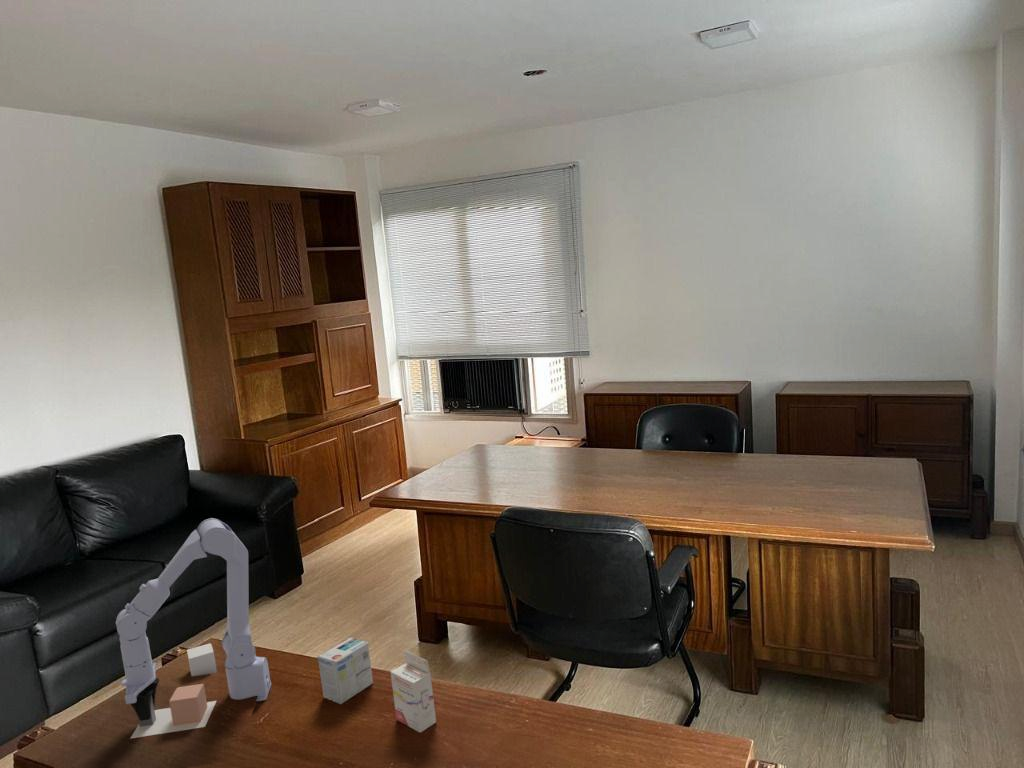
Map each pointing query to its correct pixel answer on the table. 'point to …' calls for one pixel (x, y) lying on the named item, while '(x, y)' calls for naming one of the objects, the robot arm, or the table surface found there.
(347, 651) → the light bulb box
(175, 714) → the block
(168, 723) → the white flat board
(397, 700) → the ink cartridge box
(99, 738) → the table surface
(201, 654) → the white block
